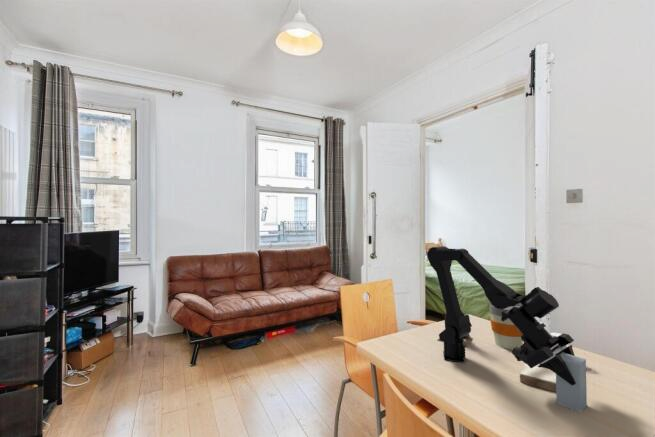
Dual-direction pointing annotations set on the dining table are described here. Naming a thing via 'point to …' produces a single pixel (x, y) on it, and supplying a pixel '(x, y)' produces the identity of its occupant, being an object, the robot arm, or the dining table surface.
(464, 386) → the dining table surface
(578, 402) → the slate block
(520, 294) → the robot arm
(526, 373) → the plinth
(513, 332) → the reusable coffee cup
